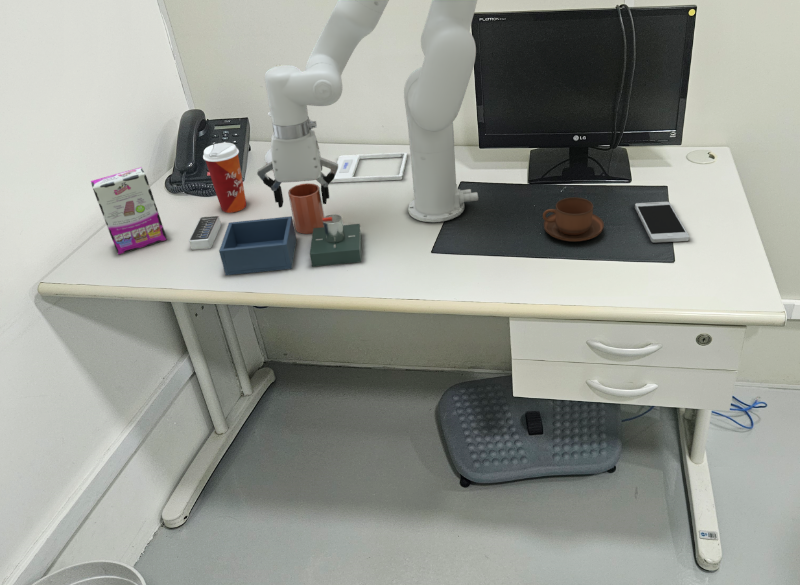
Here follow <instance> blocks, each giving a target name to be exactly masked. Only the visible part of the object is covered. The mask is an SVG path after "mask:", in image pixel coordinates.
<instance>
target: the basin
mask: <svg viewBox="0 0 800 585" xmlns="http://www.w3.org/2000/svg"><path fill="white" fill-rule="evenodd" d="M221 241H222V242H221V245H220V248H219V250H218V252H219V256H220V260H221V264H222V267H223V270H224V274H225V276H234V275H242V274H243V275H244V274H254V273H263V272H274V271H284V270H291V269H293V262H294V257H295V251H296V244H297V235H296V229H295V225H294V220H293V215H291V216H281V217H270V218H260V219H251V220H241V221H233V222H228V224H227V226H226V230H225V233H224V236H223V238H222V240H221Z"/></svg>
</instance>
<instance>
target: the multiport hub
mask: <svg viewBox="0 0 800 585" xmlns="http://www.w3.org/2000/svg"><path fill="white" fill-rule="evenodd" d="M221 226H222V223H221V219H220V215H215V216H213V215H212V216H201V217H200V218H199V220H198V221H197V223H196V226H195V228H194V229H193V231H192V233H191V235H190V237H189V240H188V241H189V245H190V249H191V250H193V251H195V250H196V251H197V250H207V249H211V248H213V245H214V243H215V241H216V239H217V236H218V233H219V231H220V230H221Z"/></svg>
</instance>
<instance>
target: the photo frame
mask: <svg viewBox="0 0 800 585" xmlns="http://www.w3.org/2000/svg"><path fill="white" fill-rule="evenodd" d="M381 158H382V159H384V158H388V159H389V158H402V161H401V166H400V169H399V173H398V174H394V175H371V176H370V175H369V176H368V175H367V176H354V175H355V173H356V170H357V168H358V165H359V162H360V160H363V159H381ZM407 159H408V152H388V153H387V152H386V153H385V152H384V153H364V154H363V153H361V154H343V155H342V154H341V155H339V156H338V159H337V161H336V163H337V164H338V170H337V172H336V175H335V177H334V179H333V180H332V181H331V182H330V183H353V182H376V181H377V182H379V181H399V180H400V181H401V180H403V177H404V172H405V168H406V163H407Z"/></svg>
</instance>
